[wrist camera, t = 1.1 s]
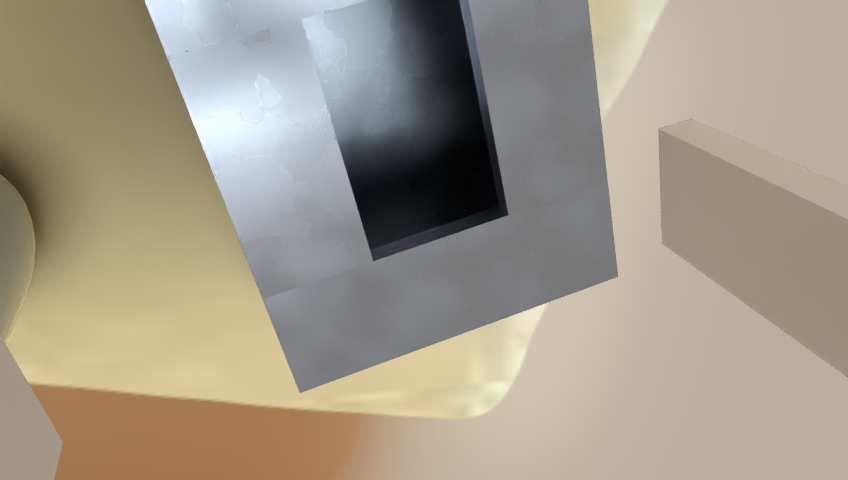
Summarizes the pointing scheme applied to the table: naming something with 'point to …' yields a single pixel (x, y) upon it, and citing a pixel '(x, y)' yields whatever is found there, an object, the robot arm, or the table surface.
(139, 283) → the table surface
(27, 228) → the cup
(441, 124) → the coin box
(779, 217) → the robot arm
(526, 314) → the table surface
